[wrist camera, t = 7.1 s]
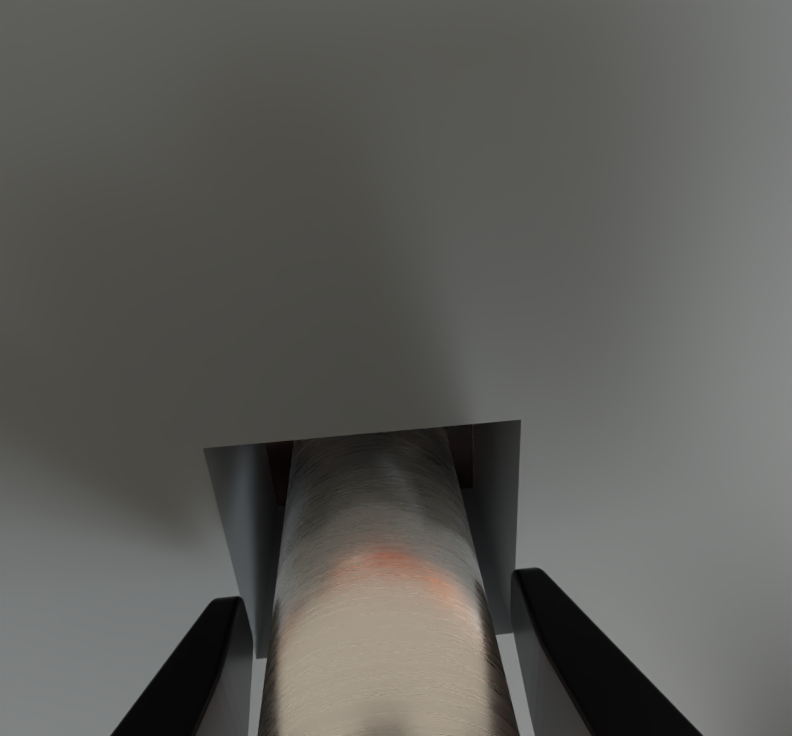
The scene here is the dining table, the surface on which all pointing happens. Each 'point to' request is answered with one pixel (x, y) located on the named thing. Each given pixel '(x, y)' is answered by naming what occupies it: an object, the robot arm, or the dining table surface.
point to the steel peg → (380, 598)
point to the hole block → (396, 319)
